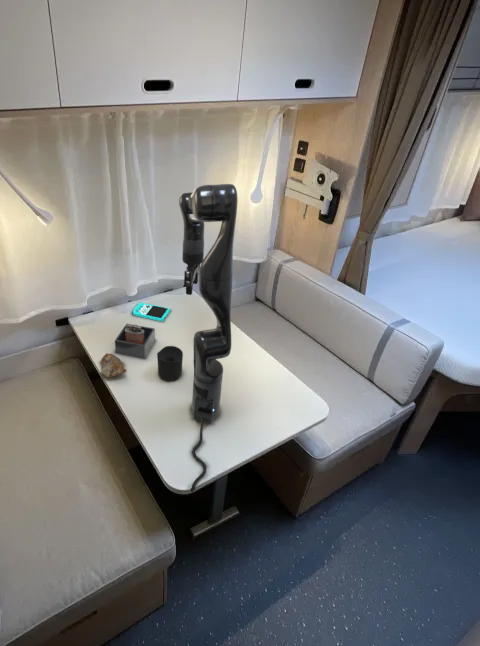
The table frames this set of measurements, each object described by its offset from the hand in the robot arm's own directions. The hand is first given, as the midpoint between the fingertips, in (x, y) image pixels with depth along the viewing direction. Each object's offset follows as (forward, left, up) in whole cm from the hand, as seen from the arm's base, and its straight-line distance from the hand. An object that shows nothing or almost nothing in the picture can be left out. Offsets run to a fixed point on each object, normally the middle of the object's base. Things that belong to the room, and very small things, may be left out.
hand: (191, 288), depth 149 cm
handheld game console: (+20, +24, -28) cm, 42 cm away
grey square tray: (-6, +22, -28) cm, 36 cm away
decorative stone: (-22, +25, -28) cm, 44 cm away
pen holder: (-18, +3, -28) cm, 34 cm away
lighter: (-6, +22, -28) cm, 35 cm away
